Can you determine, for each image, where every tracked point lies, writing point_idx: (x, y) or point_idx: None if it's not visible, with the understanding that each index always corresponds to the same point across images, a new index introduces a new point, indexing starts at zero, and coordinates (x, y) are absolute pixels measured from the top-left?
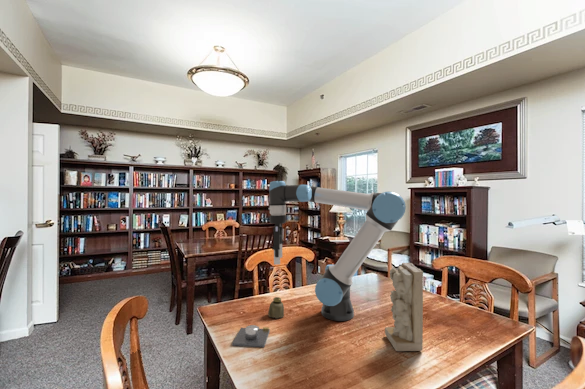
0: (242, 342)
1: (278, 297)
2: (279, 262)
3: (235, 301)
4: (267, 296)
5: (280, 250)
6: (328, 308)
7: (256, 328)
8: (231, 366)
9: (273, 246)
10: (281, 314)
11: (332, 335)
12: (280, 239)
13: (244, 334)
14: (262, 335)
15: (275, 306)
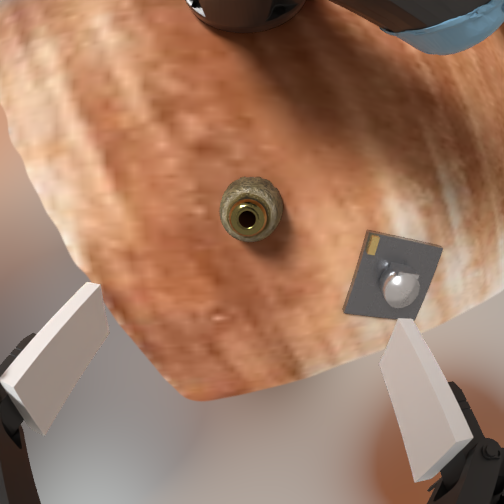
0: (419, 299)
1: (236, 214)
2: (417, 335)
3: (138, 336)
4: (82, 239)
5: (65, 348)
6: (274, 2)
7: (408, 279)
8: (473, 304)
9: (497, 494)
10: (273, 188)
11: (404, 42)
12: (10, 470)
13: (384, 300)
14: (401, 253)
15: (276, 221)
